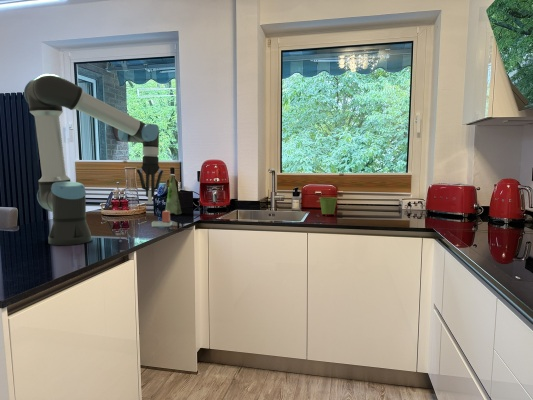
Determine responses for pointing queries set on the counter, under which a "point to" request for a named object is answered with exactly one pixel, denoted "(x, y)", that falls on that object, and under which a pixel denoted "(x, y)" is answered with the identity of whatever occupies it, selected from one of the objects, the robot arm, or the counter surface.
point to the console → (161, 224)
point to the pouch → (172, 197)
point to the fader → (166, 216)
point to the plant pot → (328, 204)
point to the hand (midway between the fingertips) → (150, 203)
